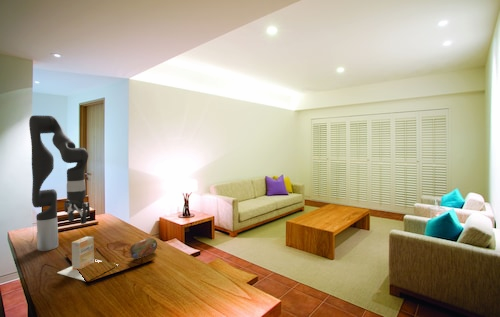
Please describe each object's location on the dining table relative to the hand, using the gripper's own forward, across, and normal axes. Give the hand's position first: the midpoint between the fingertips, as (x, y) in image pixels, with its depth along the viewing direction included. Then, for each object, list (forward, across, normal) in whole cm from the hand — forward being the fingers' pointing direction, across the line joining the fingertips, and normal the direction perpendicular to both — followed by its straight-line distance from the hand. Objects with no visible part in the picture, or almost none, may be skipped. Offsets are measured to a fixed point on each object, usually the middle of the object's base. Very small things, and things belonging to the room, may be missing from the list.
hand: (77, 222), depth 125 cm
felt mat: (+21, +9, -2) cm, 23 cm away
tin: (+21, +23, +19) cm, 36 cm away
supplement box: (+21, +4, -1) cm, 21 cm away
